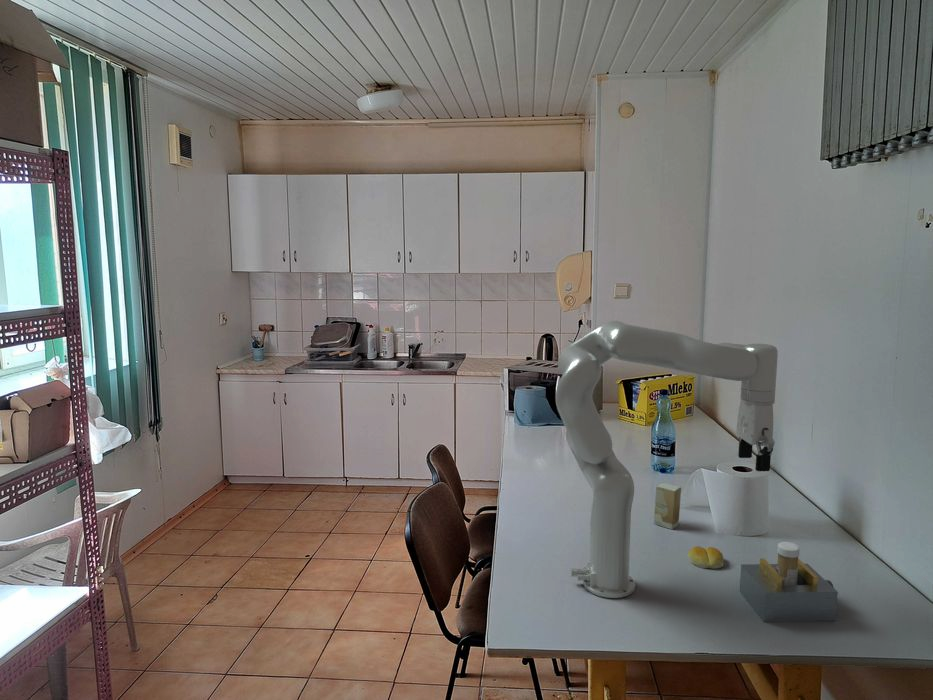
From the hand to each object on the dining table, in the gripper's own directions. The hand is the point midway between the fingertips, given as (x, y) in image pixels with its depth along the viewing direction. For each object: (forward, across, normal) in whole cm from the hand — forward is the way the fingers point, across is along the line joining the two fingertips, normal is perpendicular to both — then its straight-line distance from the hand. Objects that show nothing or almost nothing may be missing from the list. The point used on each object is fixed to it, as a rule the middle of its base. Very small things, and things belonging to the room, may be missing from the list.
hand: (753, 464), depth 160 cm
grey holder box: (+30, +12, +4) cm, 33 cm away
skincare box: (+31, -33, -10) cm, 46 cm away
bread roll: (+31, -10, -6) cm, 33 cm away
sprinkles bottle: (+29, +12, +4) cm, 32 cm away
